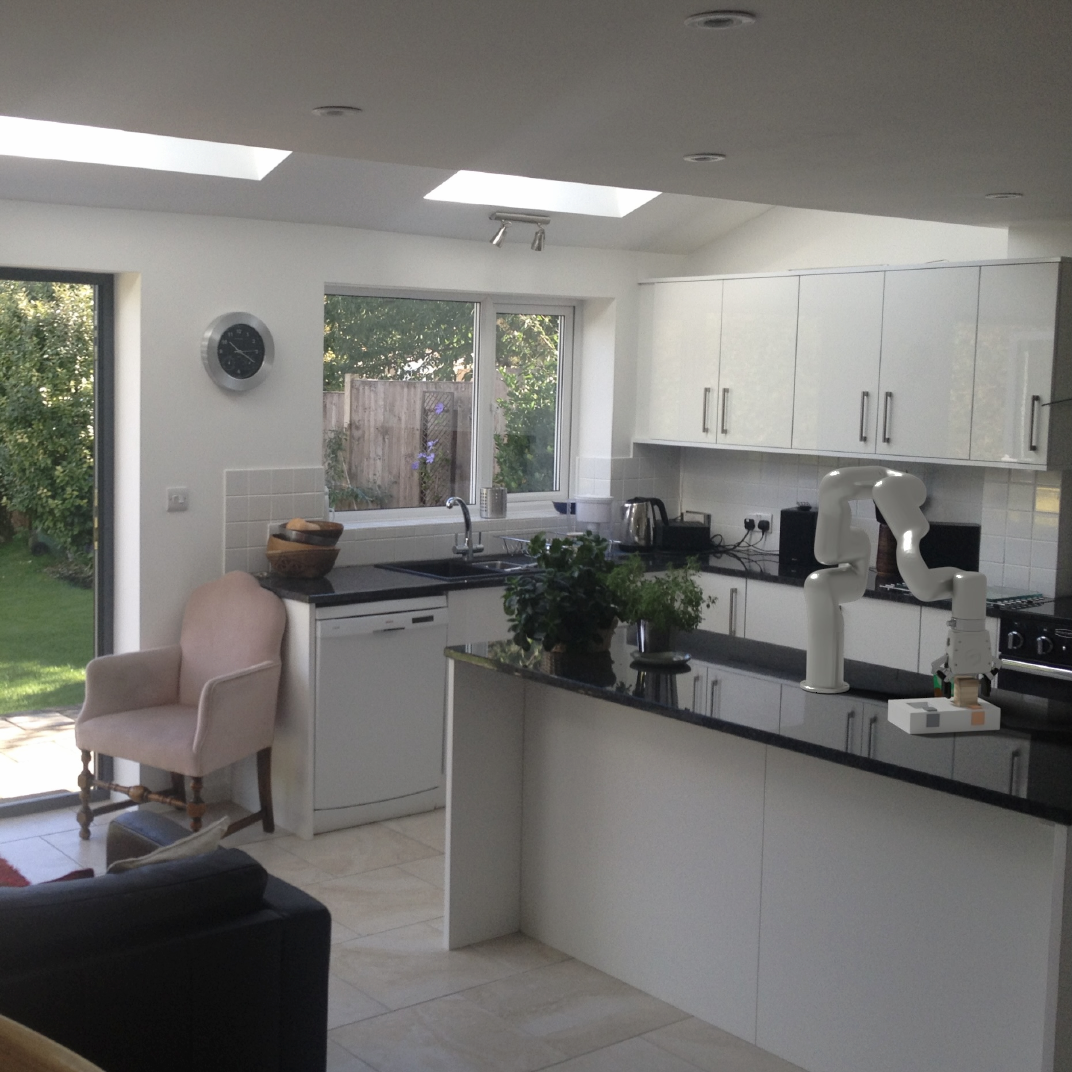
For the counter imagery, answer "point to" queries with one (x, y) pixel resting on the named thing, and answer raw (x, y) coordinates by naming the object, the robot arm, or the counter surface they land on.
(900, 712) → the socket block
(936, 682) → the food container
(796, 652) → the counter surface
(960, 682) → the plug
